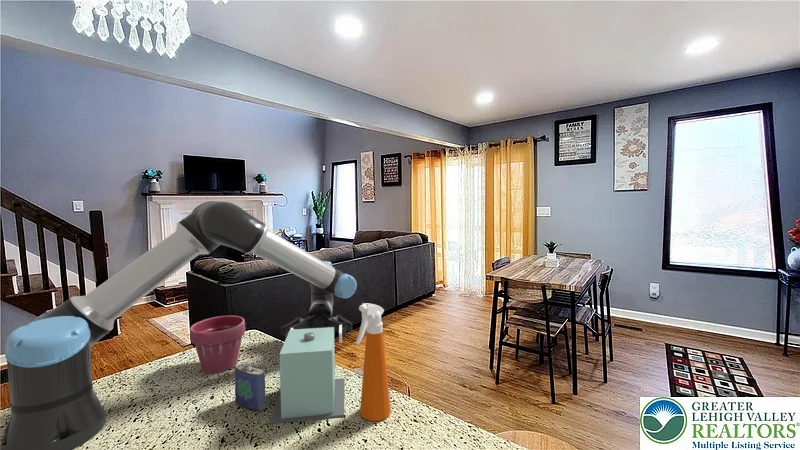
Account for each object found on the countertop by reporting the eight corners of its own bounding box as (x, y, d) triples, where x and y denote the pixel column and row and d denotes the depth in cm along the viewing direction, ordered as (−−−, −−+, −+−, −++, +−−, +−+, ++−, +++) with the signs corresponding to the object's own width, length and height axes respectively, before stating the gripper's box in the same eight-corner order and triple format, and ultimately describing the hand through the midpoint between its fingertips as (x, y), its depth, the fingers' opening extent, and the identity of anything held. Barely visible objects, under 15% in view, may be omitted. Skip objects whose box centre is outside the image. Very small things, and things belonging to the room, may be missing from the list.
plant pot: (180, 372, 96) (177, 327, 95) (223, 351, 109) (221, 312, 108) (216, 382, 91) (214, 335, 90) (256, 359, 104) (255, 318, 103)
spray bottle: (344, 426, 73) (342, 305, 71) (370, 399, 82) (369, 292, 81) (372, 436, 70) (371, 310, 68) (396, 407, 79) (395, 296, 78)
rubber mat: (269, 424, 74) (268, 422, 74) (282, 384, 89) (282, 383, 89) (344, 416, 76) (344, 414, 76) (344, 379, 92) (344, 378, 92)
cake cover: (281, 418, 75) (279, 348, 74) (291, 384, 89) (289, 325, 88) (333, 413, 77) (332, 345, 76) (335, 380, 91) (334, 322, 89)
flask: (268, 407, 80) (266, 363, 79) (258, 414, 77) (256, 368, 76) (241, 397, 84) (240, 355, 83) (231, 403, 81) (229, 360, 81)
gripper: (358, 322, 115) (361, 349, 94) (281, 327, 111) (266, 357, 90) (358, 300, 114) (361, 323, 94) (280, 305, 110) (265, 329, 90)
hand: (314, 340), depth 92 cm, fingers open, 13 cm apart
